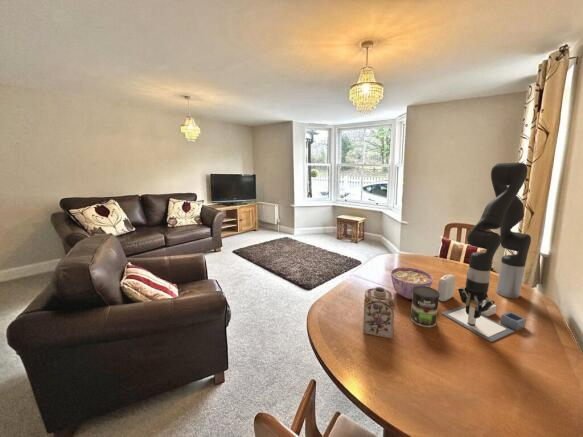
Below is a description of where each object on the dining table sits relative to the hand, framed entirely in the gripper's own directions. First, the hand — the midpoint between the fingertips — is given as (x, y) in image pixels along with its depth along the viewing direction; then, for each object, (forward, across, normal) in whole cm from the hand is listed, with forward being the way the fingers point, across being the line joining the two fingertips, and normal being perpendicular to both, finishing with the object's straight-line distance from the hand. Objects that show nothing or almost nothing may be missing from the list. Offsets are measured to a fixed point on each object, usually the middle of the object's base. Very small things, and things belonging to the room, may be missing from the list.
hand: (472, 315), depth 107 cm
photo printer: (+5, +20, -11) cm, 23 cm away
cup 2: (+5, -7, -16) cm, 18 cm away
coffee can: (+5, +11, +15) cm, 19 cm away
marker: (+4, 0, 0) cm, 4 cm away
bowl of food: (+5, +30, +4) cm, 30 cm away
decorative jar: (+5, +15, +37) cm, 40 cm away
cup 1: (+5, +4, -16) cm, 17 cm away
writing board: (+5, +1, -4) cm, 6 cm away
